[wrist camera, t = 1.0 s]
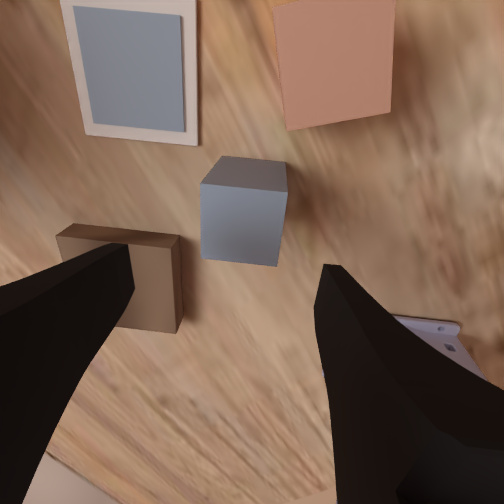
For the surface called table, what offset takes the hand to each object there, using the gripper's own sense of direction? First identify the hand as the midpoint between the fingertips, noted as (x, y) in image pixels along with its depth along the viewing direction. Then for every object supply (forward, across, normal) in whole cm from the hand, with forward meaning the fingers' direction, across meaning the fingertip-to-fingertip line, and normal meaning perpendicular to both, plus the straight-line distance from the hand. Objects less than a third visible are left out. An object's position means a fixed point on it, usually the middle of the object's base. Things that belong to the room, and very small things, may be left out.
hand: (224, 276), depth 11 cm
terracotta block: (+10, -3, -7) cm, 13 cm away
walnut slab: (+10, +9, +8) cm, 16 cm away
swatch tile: (+10, +7, -6) cm, 13 cm away
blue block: (+10, 0, 0) cm, 10 cm away
